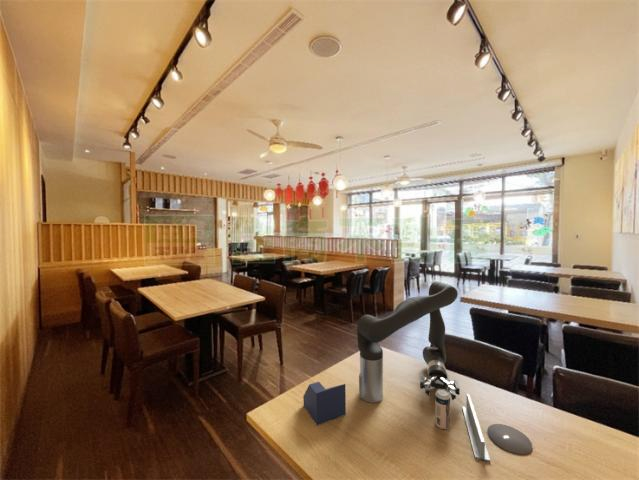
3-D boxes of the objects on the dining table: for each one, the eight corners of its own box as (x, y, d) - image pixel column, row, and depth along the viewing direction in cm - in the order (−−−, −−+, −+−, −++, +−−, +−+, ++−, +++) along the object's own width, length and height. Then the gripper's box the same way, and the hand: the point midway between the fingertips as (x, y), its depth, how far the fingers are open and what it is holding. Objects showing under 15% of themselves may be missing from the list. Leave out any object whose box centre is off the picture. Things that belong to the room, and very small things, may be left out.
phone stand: (330, 396, 114) (329, 368, 113) (345, 414, 103) (345, 383, 102) (303, 405, 108) (302, 376, 108) (316, 425, 98) (316, 393, 97)
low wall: (475, 459, 83) (475, 440, 82) (462, 408, 105) (462, 392, 105) (490, 462, 81) (490, 443, 81) (473, 410, 104) (474, 394, 104)
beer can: (451, 431, 94) (451, 397, 93) (436, 429, 95) (436, 396, 94) (447, 421, 99) (448, 389, 98) (433, 419, 100) (433, 387, 99)
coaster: (492, 448, 86) (492, 446, 86) (483, 422, 98) (483, 420, 98) (538, 458, 83) (538, 456, 83) (523, 430, 94) (523, 428, 94)
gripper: (419, 361, 120) (420, 382, 105) (455, 366, 116) (462, 389, 100) (419, 378, 121) (420, 401, 105) (455, 384, 116) (461, 409, 101)
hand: (440, 395), depth 103 cm, fingers open, 8 cm apart
